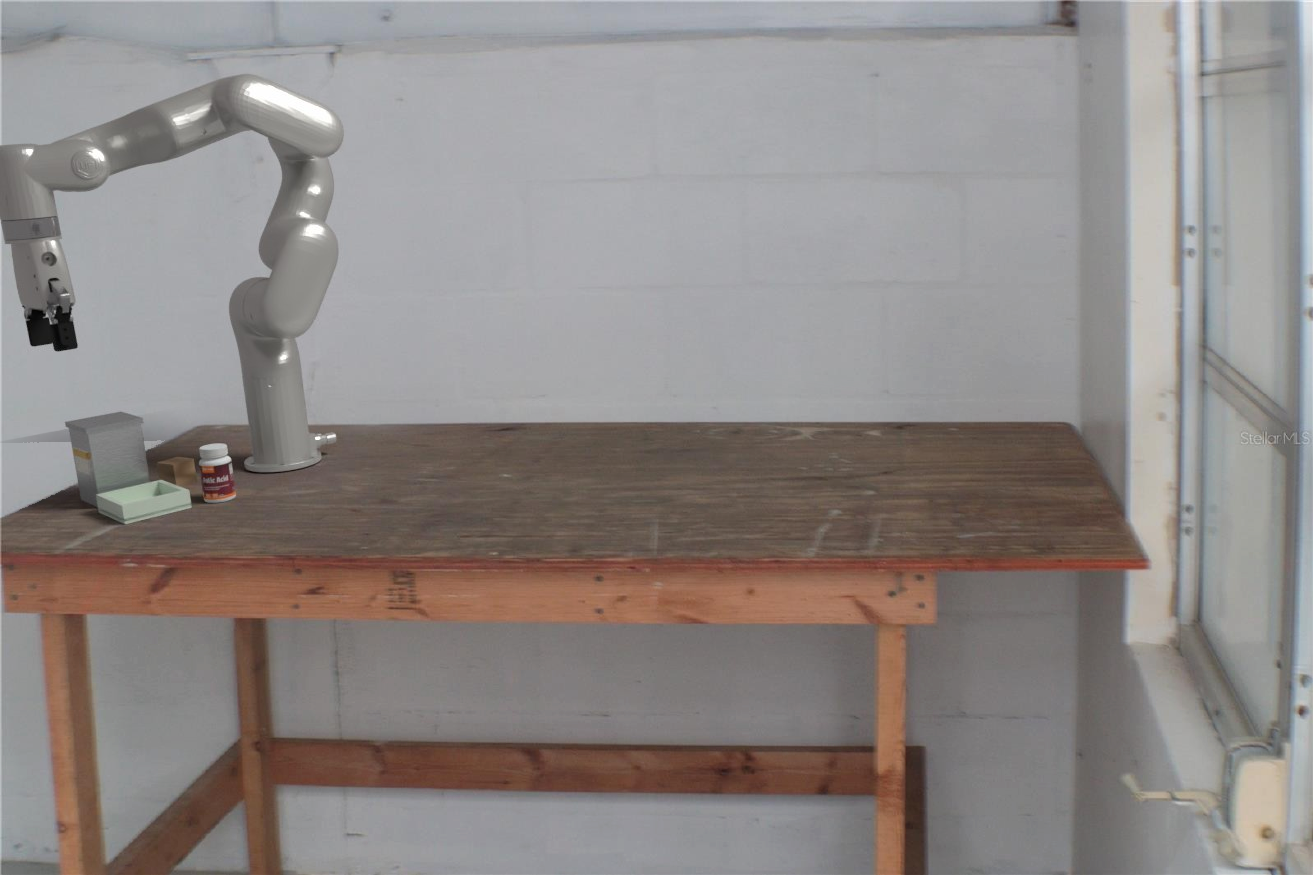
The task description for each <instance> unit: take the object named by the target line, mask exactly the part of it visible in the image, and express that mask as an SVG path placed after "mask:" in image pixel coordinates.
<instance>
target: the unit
mask: <svg viewBox="0 0 1313 875" xmlns="http://www.w3.org/2000/svg"><path fill="white" fill-rule="evenodd" d="M64 423H65V428H68V432H69V439H70V443H71V448H72V455H73V460H74V466H75V472H76V473H75V474H76V479H77V483H78V490H79V495H80V500H81V501H82V502H85V503H87V504H89V505H92V506H93V507H96V508H98V505H97V499H96V494H101V493H105V492H109V491H114V490H118V489H123V488H127V487H131V486H136V485H140V484H145V483H149V482H151V479H150V473H149V466H148V458H147V453H146V452H147V451H146V446H145V439H144V434H143V433H144V432H143V427H142V424H144V418H143V417H140V416H137V415H134V414H131V413H128V412H125V411H124V412H123V411H117V412H112V413H105V414H101V415H95V416H91V417H83V418H78V419H74V420H68V421H65V422H64Z"/></svg>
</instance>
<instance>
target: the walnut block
mask: <svg viewBox="0 0 1313 875" xmlns="http://www.w3.org/2000/svg"><path fill="white" fill-rule="evenodd" d="M156 466H157V472H158V478H159V479H158V480H164V481H166V482H169V483H172V484H174V485H177V486H180V487H183V488H184V487H185V486H189V485H192V484H195V483H198V479H197V478H198V477H197V472H196V465H195V459H194V458H190V457H184V456H175V457H172V458H168V459H164V460H162V461H158V462H156Z"/></svg>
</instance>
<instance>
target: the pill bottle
mask: <svg viewBox="0 0 1313 875" xmlns="http://www.w3.org/2000/svg"><path fill="white" fill-rule="evenodd" d="M198 449H199V457H200V458H201V459H200V460H199V462H198V467H199V468H198V469H199V474H200V480H201V481H200V482H201V487H202V496H203V501H204V502H206V503H209V504H213V503H214V504H216V503H218V504H219V503H225V502H229V501H231V500H234V499H235V498H236V497H237V494H236V493H237V492H236V486H235V485H236V484H235V477H234V470H233V463H232V462H233V460H232V458H231V457H230V456H229V455H228V454H229V453H228V452H229V450H228V445H227V444H226V443H219V442H218V443H210V444H205V445H202V446H200V447H199V448H198Z"/></svg>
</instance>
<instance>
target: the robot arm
mask: <svg viewBox="0 0 1313 875" xmlns="http://www.w3.org/2000/svg"><path fill="white" fill-rule="evenodd" d="M249 131H253V132H255V133H257V134H259V135H262V136H264V137H266V138H267V141H268V144H269V145H270V148H271V149H272V151H273V153H274V154H275V156H276V158H277V160H278V162H279V165H280V170H281V182H280V188H279V190H278V193H277V197H276V199H275V202H274V205H273V207H272V208H271V212H270V215H269V217H268V218H267V221H266V223H265V225H264V229H263V231H262V233H261V236H260V238H259V244H258V254H259V258H260V260H261V261H262V263H263V264H264V266H266V267H267V268H268V269H269V270H271V273H270V275H269V277H268V276H267V277H264V276H259V277H257V276H255V277H251V278H248V279H246V280H243V281H241V282H240V283H239V284H238V285H236V286H235V288H234V289H233V291H232V293H231V295H230V298H229V301H228V302H229V304H228V314H229V319H230V324H231V326H232V331H233V334H234V337H235V340H236V341H235V342H236V344H237V346H236V347H237V349H238V350H237V351H238V355H239V363H240V368H241V375H242V376H241V377H242V385H243V391H244V393H243V394H244V398H245V399H244V400H245V407H246V415H247V421H248V422H247V423H248V428H249V436H250V444H251V450H252V455H251V456H249V457H247V458H245V460H244V462H243V463H244V469H245V470H247V471H249V472H250V471H251V472H254V473H279V472H288V471H293V470H294V471H295V470H298V469H303V468H307V467H310V466H313V465H315V464H318V463H319V462H320V461H321V460H322V453H321V451H320V450H318V449H320V448H321V447H322V446H324V445H331V444H334V443H336V442H337V435H336V433H335V432H334V431H331V432H326V433H323V434H321V432H319V433H314V432H310V431H309V430H310V428H309V421H308V415H307V413H308V412H307V405H306V398H305V396H306V395H305V390H304V388H305V387H304V381H303V380H304V379H303V372H302V363H301V357H300V352H299V347H298V344H297V340H296V339H297V338H299V337H300V336H302V335H304V334H305V333H306V332H307V331H308V330H309V329H310V328H311V326H313V324H314V322H315V320H316V318H317V316H318V314H319V311H320V308H321V306H322V304H323V301H324V299H325V297H326V293H327V291H328V288H329V286H330V284H331V280H332V278H333V275H334V273H335V271H336V268H337V264H338V259H339V242H338V239H337V236H336V234H335V232H334V231H333V229H332V228H331V227H330V225H328V224H327V223H326V220H327V217H328V214H329V212H330V210H331V205H332V202H333V200H334V195H335V194H334V192H335V179H334V172H333V169H332V166H331V163H330V160H329V157H331V156H333V155H334V154H335V153H336V152H338V150H339V149H340V148H341V146H342V145H343V141H344V135H345V133H344V131H345V130H344V126H343V124H342V121H341V119H340V117H339V115H338V114H337V113H336V112H335V111H334V110H333V109H331V108H330V107H329V106H328V105H326V104H323V103H321V102H319V101H317V100H314V99H312V98H310V97H309V96H308V97H307V96H305V95H304V94H301V93H299V92H296V91H294V90H293V89H290V88H288V87H285V86H283V85H280V84H279V83H276V82H274V81H271V80H270V79H267V78H264V77H262V76H259V75H256V74H251V73H242V74H235V75H231V76H227V77H221V78H219V79H216V80H214V81H210V82H208V83H205V84H202V85H200V86H198V87H195V88H192V89H188V90H187V91H183V92H181V93H178V94H176V95H173V96H170V97H167V98H165V99H162V100H160V101H157V102H153V103H151V104H148V105H146V106H143V107H141V108H138V109H135V110H134V111H131V112H129V113H127V114H126V115H122V116H120V117H118V118H115V119H113V120H110V121H107V122H104V123H101V124H99V125H96V126H94V127H91V128H89V129H85V130H83V131H80V132H77V133H75V134H71V135H69V136H66V137H64V138H62V139H59V140H56V141H54V142H51V143H47V144H36V143H12V144H3V145H0V226H1V229H2V230H1V231H2V236H3V240H4V241H3V242H4V244H5V245H10V248H11V258H12V265H13V274H14V278H15V284H16V289H17V290H16V291H17V294H18V298H19V301H20V304H21V307H22V308H23V309H24V310H23V317H24V319H25V326H26V328H27V335H28V340H29V345H30V346H31V347H40V346H46V345H51V344H52V346H53V351H55V352H63V351H70V350H75V349H78V347H79V346H78V340H77V335H76V330H75V323H74V316H73V314H72V310H73V307H74V306H75V304H76V296H75V292H74V288H73V283H72V278H71V275H70V270H69V265H68V262H67V259H66V256H65V255H66V254H65V251H64V249H63V246H62V244H61V241H60V240H62V239H63V236H62V231H61V226H60V222H59V216H58V215H59V214H58V211H57V209H58V208H57V204H56V199H55V194H54V191H59V192H65V193H81V192H85V193H86V192H91V191H93V190H94V191H95V190H96V189H98V188H101V186H103V185H104V184H105V183H106V182H107V180H108V178H109V177H110V176H113V175H115V174H116V175H117V174H118V173H121V172H125V171H127V170H130V169H134V168H137V167H141V166H142V167H143V166H147V165H152V164H159V163H163V162H168V161H170V160H173V159H177V158H180V157H183V156H185V155H187V154H190V153H192V152H195V151H197V150H200V149H202V148H204V147H205V148H206V147H207V146H209V145H211V144H215V143H217V142H219V141H222V140H224V139H227V138H229V137H232V136H235V135H236V134H237V135H238V134H240V133H242V132H249Z"/></svg>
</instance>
